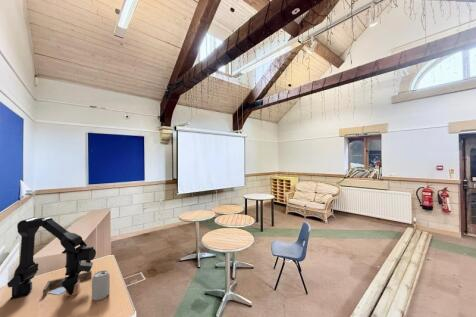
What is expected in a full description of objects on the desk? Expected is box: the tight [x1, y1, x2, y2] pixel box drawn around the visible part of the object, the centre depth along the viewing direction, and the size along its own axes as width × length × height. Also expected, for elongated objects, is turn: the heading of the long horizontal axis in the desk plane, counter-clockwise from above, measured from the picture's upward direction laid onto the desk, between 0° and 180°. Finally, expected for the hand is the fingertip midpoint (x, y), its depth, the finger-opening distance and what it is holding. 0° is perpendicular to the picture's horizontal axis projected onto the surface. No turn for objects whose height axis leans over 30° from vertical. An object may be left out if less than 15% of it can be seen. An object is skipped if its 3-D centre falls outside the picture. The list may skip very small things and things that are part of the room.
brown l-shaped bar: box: [42, 270, 93, 297], centre depth 112 cm, size 20×9×4 cm, turn 122°
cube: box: [65, 279, 81, 297], centre depth 106 cm, size 5×5×5 cm
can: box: [91, 269, 111, 302], centre depth 102 cm, size 8×8×12 cm
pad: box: [48, 285, 66, 296], centre depth 108 cm, size 7×7×1 cm
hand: (72, 290), depth 106 cm, fingers open, 9 cm apart
